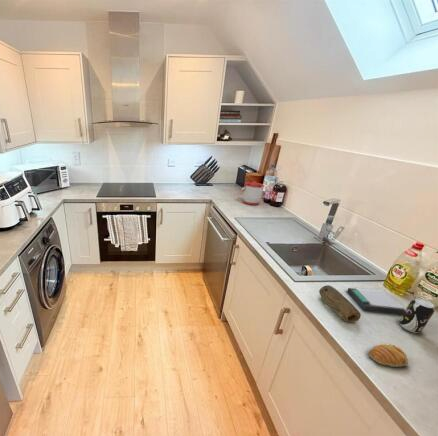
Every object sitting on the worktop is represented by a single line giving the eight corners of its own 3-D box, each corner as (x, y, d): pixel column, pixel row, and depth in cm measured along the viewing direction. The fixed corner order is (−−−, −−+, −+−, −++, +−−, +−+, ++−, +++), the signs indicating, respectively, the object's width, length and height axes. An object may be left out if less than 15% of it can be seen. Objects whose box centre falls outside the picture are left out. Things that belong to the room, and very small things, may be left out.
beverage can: (412, 335, 83) (428, 309, 78) (393, 322, 88) (408, 297, 83) (425, 333, 84) (442, 307, 79) (406, 320, 89) (421, 295, 84)
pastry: (382, 370, 71) (387, 362, 70) (361, 350, 77) (365, 342, 76) (409, 366, 72) (414, 358, 71) (385, 347, 79) (390, 339, 77)
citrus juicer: (238, 199, 217) (242, 178, 209) (258, 201, 213) (263, 179, 205) (240, 205, 203) (244, 182, 195) (261, 207, 199) (266, 184, 191)
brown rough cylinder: (313, 296, 100) (318, 284, 98) (328, 295, 101) (333, 283, 98) (343, 325, 87) (349, 311, 84) (360, 323, 87) (367, 310, 85)
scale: (382, 295, 101) (385, 290, 100) (403, 315, 91) (407, 309, 90) (346, 291, 103) (349, 286, 102) (363, 310, 93) (366, 304, 92)
